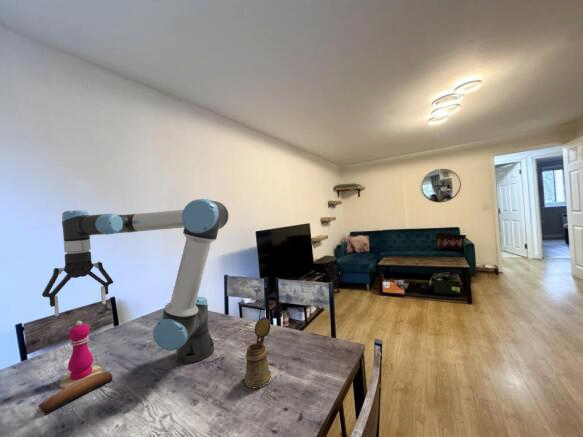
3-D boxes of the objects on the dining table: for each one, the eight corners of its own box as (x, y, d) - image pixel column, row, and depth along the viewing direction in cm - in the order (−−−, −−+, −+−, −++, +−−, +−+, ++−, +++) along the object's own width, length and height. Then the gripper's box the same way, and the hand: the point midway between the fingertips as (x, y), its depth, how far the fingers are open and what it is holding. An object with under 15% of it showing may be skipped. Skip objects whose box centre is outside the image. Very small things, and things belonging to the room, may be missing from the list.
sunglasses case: (101, 374, 94) (105, 361, 92) (110, 388, 91) (114, 375, 89) (35, 406, 79) (37, 391, 77) (42, 425, 75) (45, 410, 74)
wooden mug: (279, 365, 93) (276, 317, 93) (265, 390, 80) (262, 333, 80) (256, 363, 96) (254, 315, 96) (240, 386, 82) (236, 331, 82)
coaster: (105, 374, 94) (105, 372, 94) (62, 392, 85) (62, 390, 85) (97, 363, 101) (97, 362, 101) (57, 379, 92) (57, 377, 92)
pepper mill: (83, 381, 89) (80, 324, 89) (62, 381, 89) (60, 325, 90) (98, 368, 97) (96, 316, 97) (80, 369, 97) (77, 317, 97)
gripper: (114, 247, 106) (117, 297, 106) (28, 256, 87) (32, 318, 87) (120, 247, 101) (123, 300, 101) (30, 257, 82) (35, 323, 82)
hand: (81, 308), depth 94 cm, fingers open, 13 cm apart
